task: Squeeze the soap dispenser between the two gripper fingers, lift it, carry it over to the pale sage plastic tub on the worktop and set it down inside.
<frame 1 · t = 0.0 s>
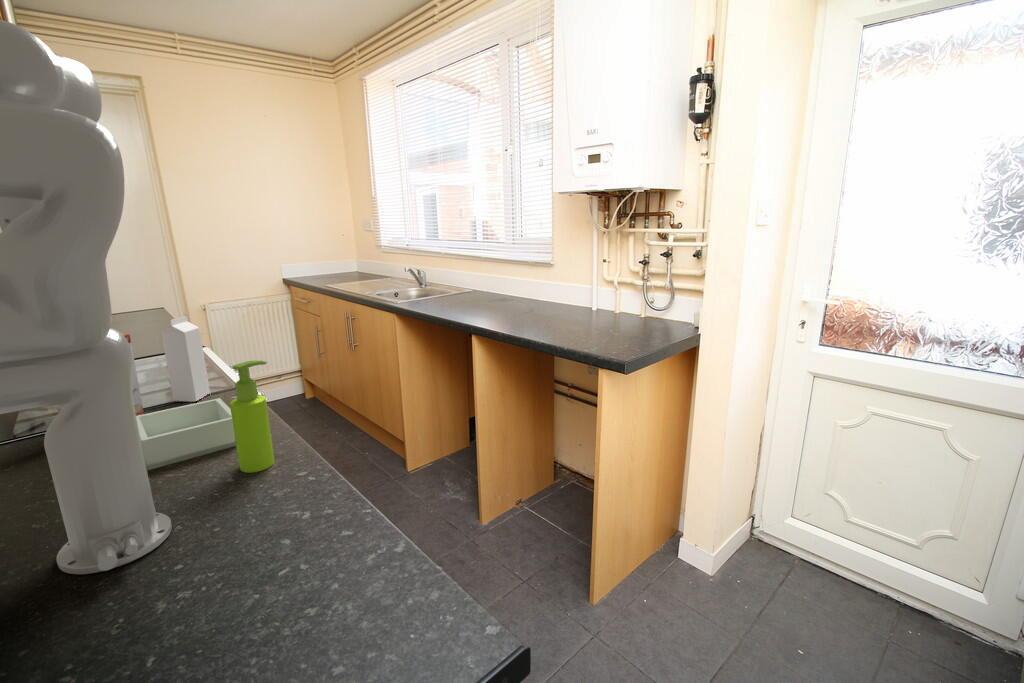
hand: (58, 275, 76), 37 cm above the counter, tool pointing down, fingers open, 9 cm apart
tub: (189, 443, 100), on the counter
cracker box: (108, 429, 108), on the counter
soap dispenser: (260, 464, 91), on the counter
milk: (192, 399, 126), on the counter
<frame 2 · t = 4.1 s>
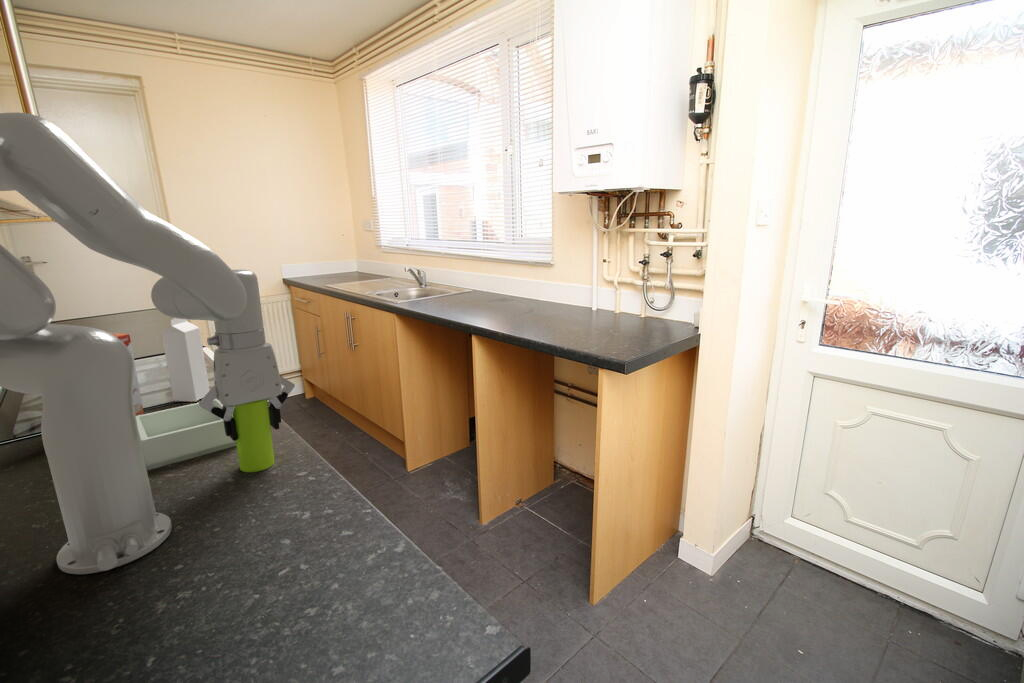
hand: (254, 431, 89), 7 cm above the counter, tool pointing down, fingers open, 6 cm apart
soap dispenser: (260, 464, 91), on the counter, touching gripper
everything else where it was.
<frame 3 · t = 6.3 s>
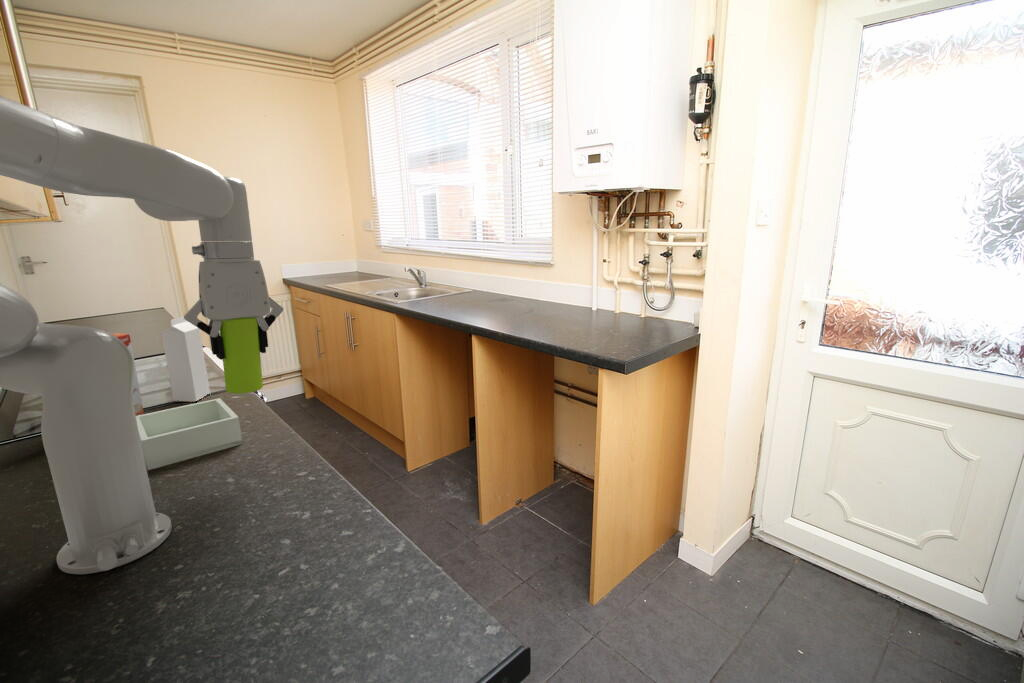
hand: (241, 353, 85), 22 cm above the counter, tool pointing down, fingers closed on soap dispenser, 6 cm apart
soap dispenser: (247, 388, 87), point 15 cm above the counter, touching gripper
everything else where it was.
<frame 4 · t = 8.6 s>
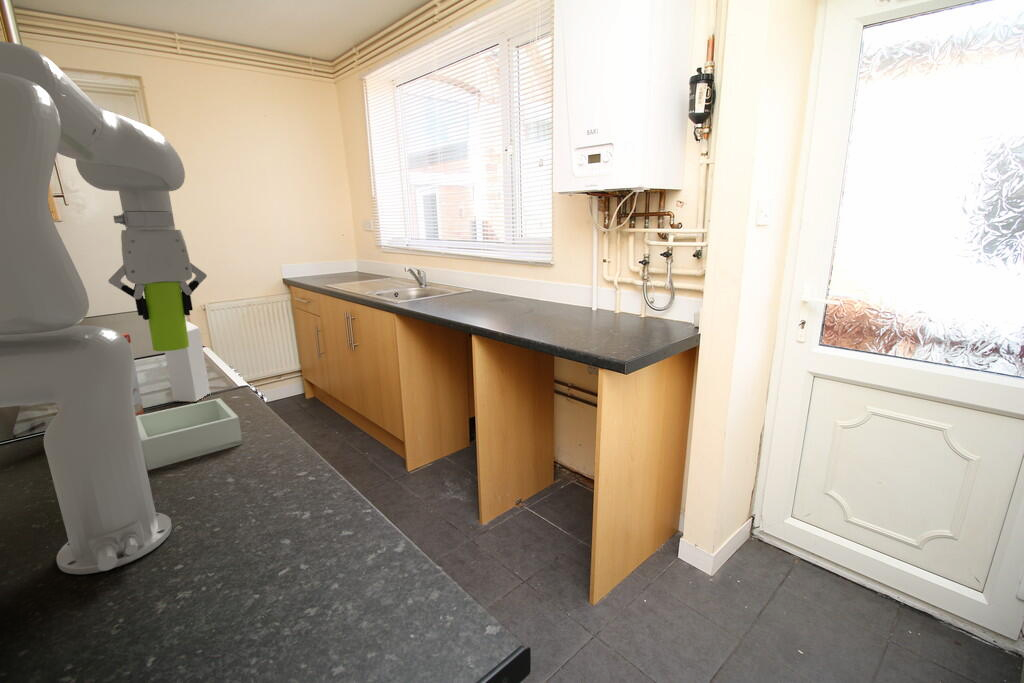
hand: (166, 315, 93), 27 cm above the counter, tool pointing down, fingers closed on soap dispenser, 5 cm apart
soap dispenser: (174, 348, 95), point 21 cm above the counter, touching gripper
everything else where it was.
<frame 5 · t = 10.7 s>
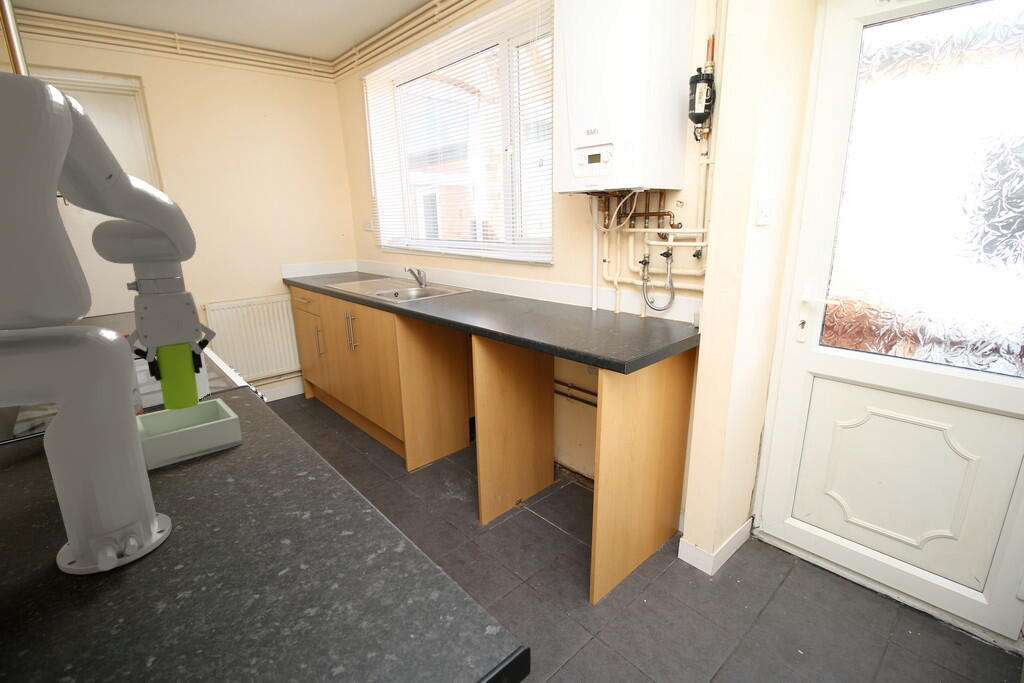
hand: (177, 374, 96), 15 cm above the counter, tool pointing down, fingers closed on soap dispenser, 5 cm apart
soap dispenser: (185, 404, 98), point 9 cm above the counter, touching gripper
everything else where it was.
when the fingers open (9 cm above the counter, at t = 12.8 s): soap dispenser drops 2 cm, resting on tub.
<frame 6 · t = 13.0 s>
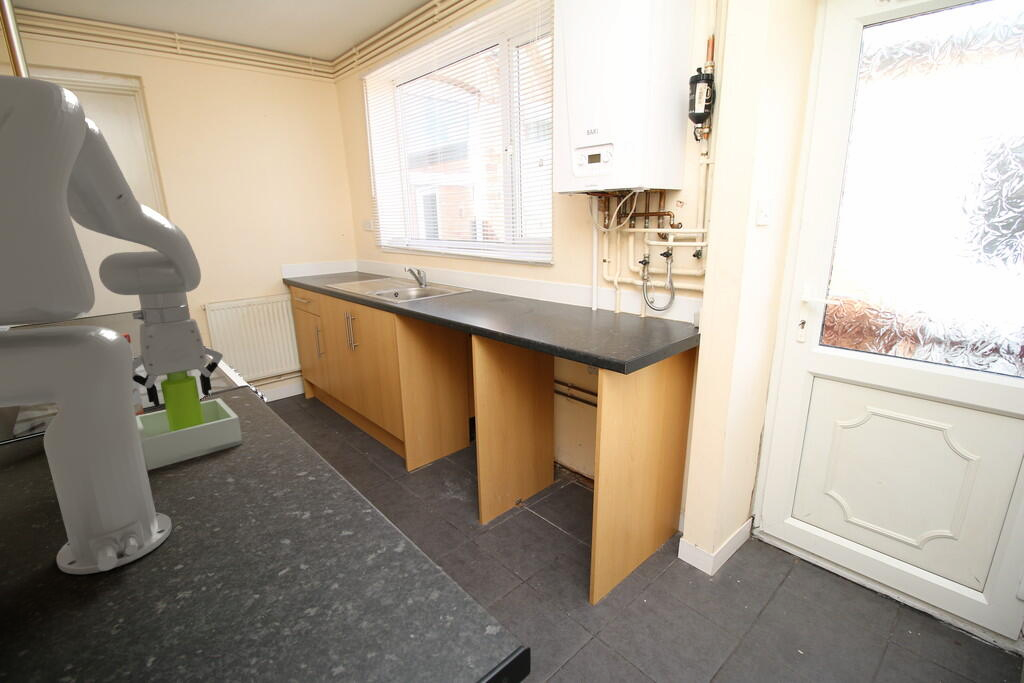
hand: (181, 399, 97), 10 cm above the counter, tool pointing down, fingers open, 8 cm apart
soap dispenser: (192, 439, 100), point 1 cm above the counter, touching tub
everything else where it was.
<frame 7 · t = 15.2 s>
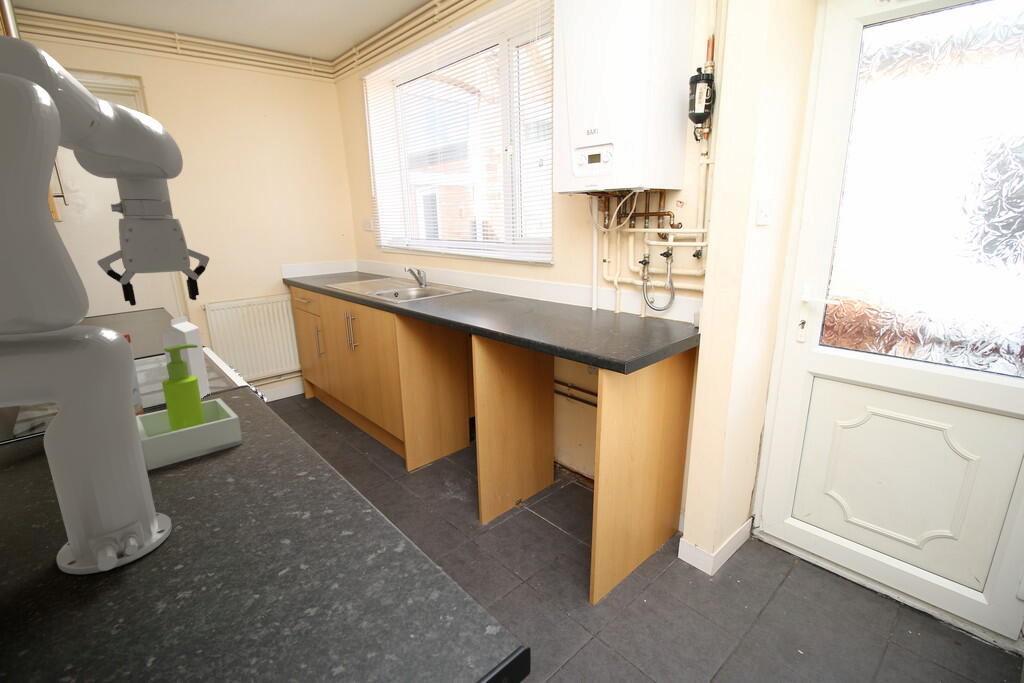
hand: (164, 302, 93), 30 cm above the counter, tool pointing down, fingers open, 9 cm apart
nothing on the counter moved.
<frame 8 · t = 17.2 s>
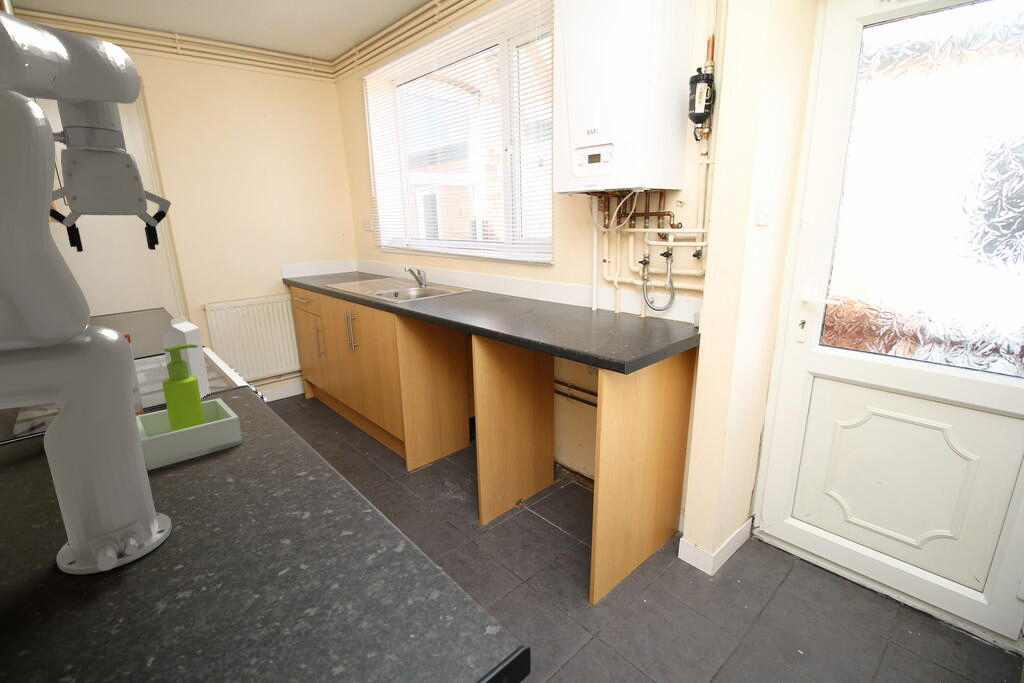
hand: (117, 250, 81), 40 cm above the counter, tool pointing down, fingers open, 9 cm apart
nothing on the counter moved.
at the end: soap dispenser inside the target area on the tub (0.7 cm from its centre), point 0.8 cm above the tub's base; the gripper is holding nothing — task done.
